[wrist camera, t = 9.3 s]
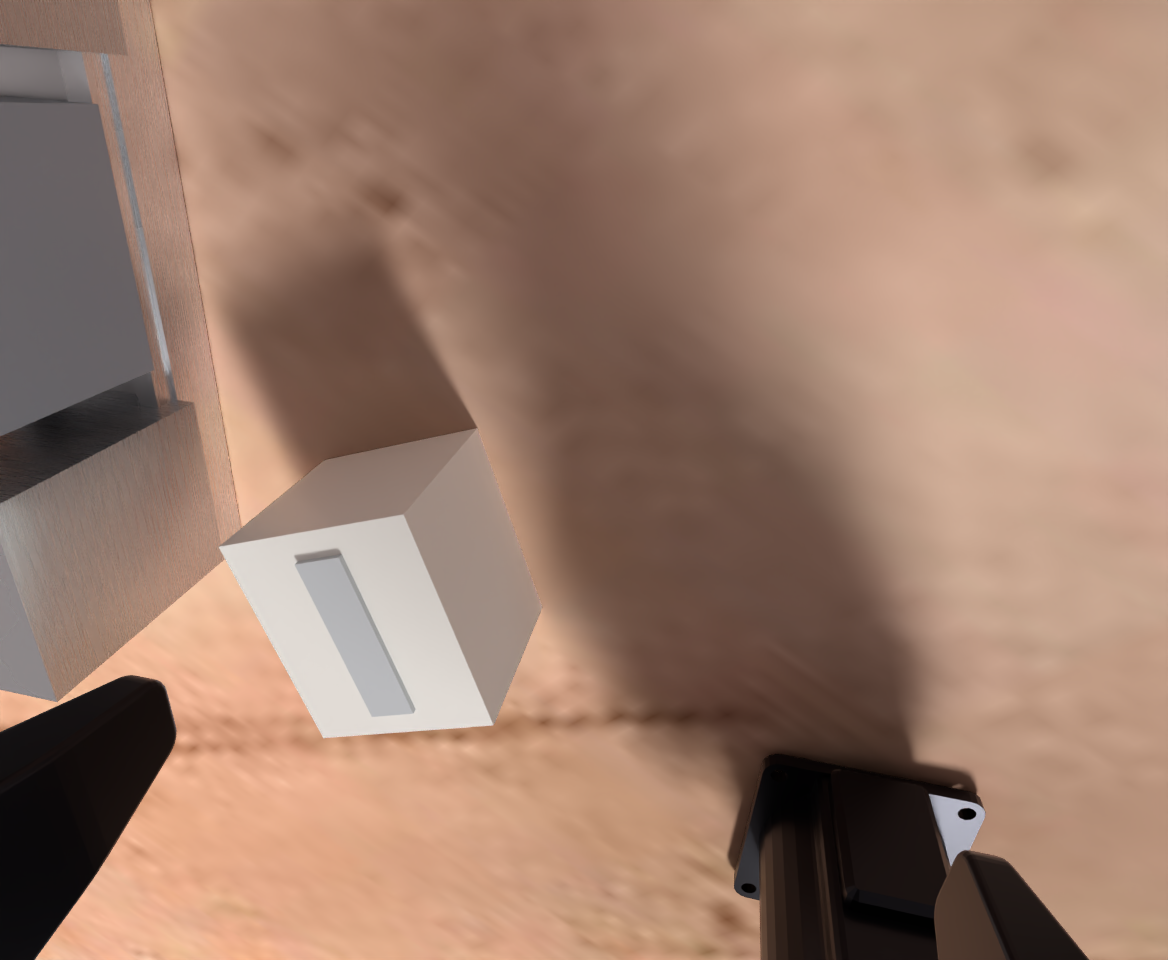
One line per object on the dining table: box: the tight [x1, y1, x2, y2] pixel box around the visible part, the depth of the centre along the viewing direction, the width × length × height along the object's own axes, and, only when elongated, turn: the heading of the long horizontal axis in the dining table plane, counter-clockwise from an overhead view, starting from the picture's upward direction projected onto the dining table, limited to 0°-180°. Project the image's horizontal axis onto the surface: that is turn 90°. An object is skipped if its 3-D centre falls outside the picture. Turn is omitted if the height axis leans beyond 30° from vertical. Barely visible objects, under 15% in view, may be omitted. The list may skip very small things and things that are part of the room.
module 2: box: [219, 428, 542, 738], centre depth 20 cm, size 6×5×5 cm
